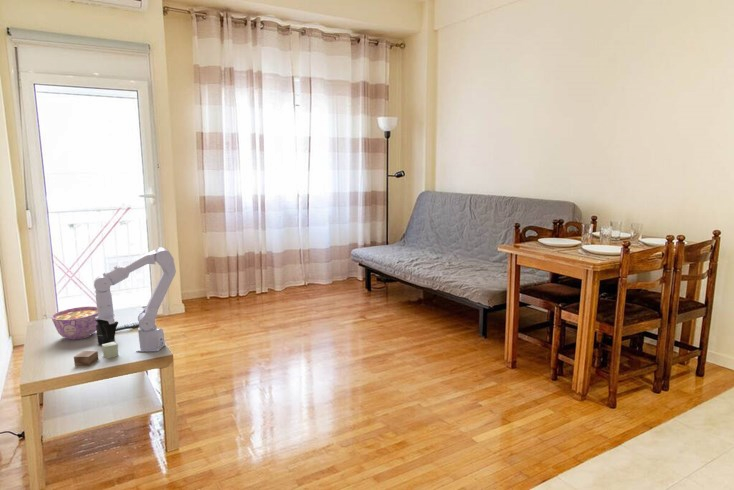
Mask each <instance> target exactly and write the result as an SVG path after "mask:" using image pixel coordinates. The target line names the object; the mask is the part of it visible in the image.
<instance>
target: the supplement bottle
mask: <svg viewBox="0 0 734 490" xmlns="http://www.w3.org/2000/svg"><path fill="white" fill-rule="evenodd" d="M96 338H97V339H96V340H97V344H98V345H101V346H102V344H106V343H110V342H116V337H115V338H114V339H110V340H109V339H108V337H107V334H106V335H103V334H102V332H101V329H100V327H99V325H98V324H97V325H96Z"/></svg>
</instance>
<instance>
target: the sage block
mask: <svg viewBox="0 0 734 490" xmlns="http://www.w3.org/2000/svg"><path fill="white" fill-rule="evenodd" d="M101 348H102V354H103V357H104V358H105V359H110V358H114V357H118V356H119V348H118V344H117V343H116V341H114V342H110V343H106V344H102V345H101Z"/></svg>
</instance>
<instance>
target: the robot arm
mask: <svg viewBox="0 0 734 490" xmlns="http://www.w3.org/2000/svg"><path fill="white" fill-rule="evenodd" d="M156 263H157V264H158V265H159V266H160V267H161V269H162V274H161V275H160V278H159V280H158V282H157V284H156V286H155V288H154V290H153V292H152V294H151V297H149V298H150V299H149V300H148V303H147V304H146V306H145V307H144V309H143V310H142V311H141V312H140V313H139V314H138V316H137V321H138V328H137V332H138V342H139V348H137V349H136V350H135V351H136V353H138V352H139V353H141V352H142V353H143V352H144V353H145V352H146V353H147V352H151V353H153V352H159V351H160V350H161V349H163V347H165V346H166V345H165V344H166V341H165V333H164V329H163V328H162V327H161V328H160V327H157V324H156V318H157V315H158V312H159V309H160V306H161V305H162V303H163V301H164V298H165V297H166V295H167V292H168V290H169V288H170V286H171V284H172V282H173V280H174V277H175V276H176V273H177V270H176V265H175V258H174V257H173V256H172V254H171V252H170V251H169V250H168V248H166V247H158V248H156V249H154V250H151V251H149V252H147V253H145V254H143V255H142V256H140V257H139V258H137V259H135V260H133V261H132V262H130V263H128V264H126V265H125V266H124V265H116V266H114V267H113V269H111V270H110V271H108V272H104V273H102V275H98V276H97V277H96V278H95V280H94V282H93V288H94V289H95V290H94V292H95V301H96V302H95V303H96V307H97V312H98V316H97V317H95V320H96V322H97V323H98V325H99V327H100V329H101V332H102V334H103V335H106V334H107V337H108V339H109V340H110V339H114V338H115V339H116V337H115V336H116V331H117V327H118V325H119V321H118V320H116V321H115V313H114V306H113V296H112V295H113V294H112V292H111V287H112V286H115V285H117V284H118V283H121V282H122V281H123V280H126V279H127V278H129V276H130V273H132V272H134V271H137V270H139V269H140V268H142V267H144V266H146V265H156Z"/></svg>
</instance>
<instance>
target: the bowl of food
mask: <svg viewBox="0 0 734 490" xmlns="http://www.w3.org/2000/svg"><path fill="white" fill-rule="evenodd" d="M97 316H98V312H97V306H89V305H88V306H78V307H71V308H67V309H64V310H61V311H57V312H55V313H54V314H52V315H51V317H50V318H51V320H52V323H53V325H54V327H55V329H56V331H57V333H58V335H60V336H61V337H63V338H65V339H69V340H71V341H74V340H77V341H78V340H83V339H87V338H88V337H90V336H91V335H93V334H94V333H95V332H97V330H96V325H97V324H98V323H97V322H96V320H95V317H97Z"/></svg>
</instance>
